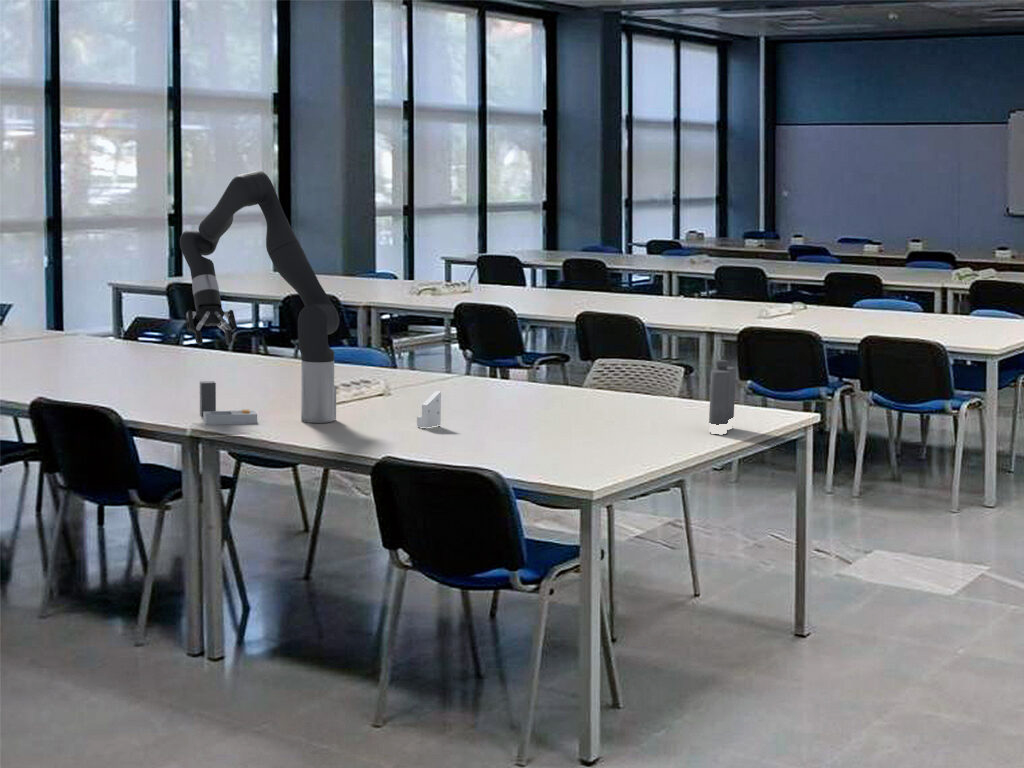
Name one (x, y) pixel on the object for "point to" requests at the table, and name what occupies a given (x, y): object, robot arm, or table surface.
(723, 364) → the flask
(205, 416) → the power strip
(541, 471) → the table surface
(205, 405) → the plug
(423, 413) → the white angled block
